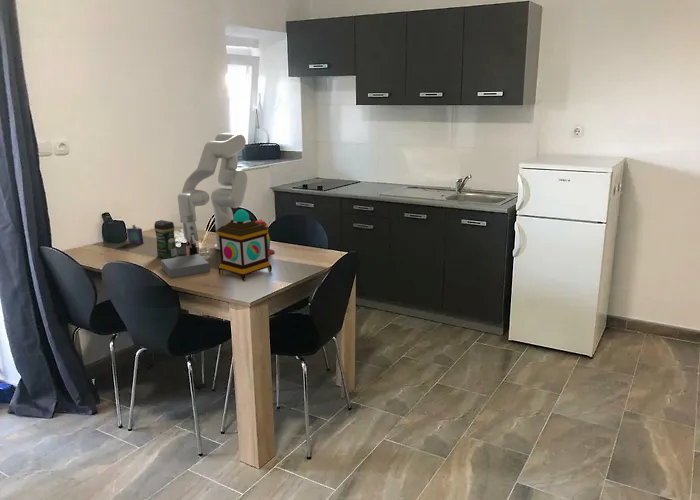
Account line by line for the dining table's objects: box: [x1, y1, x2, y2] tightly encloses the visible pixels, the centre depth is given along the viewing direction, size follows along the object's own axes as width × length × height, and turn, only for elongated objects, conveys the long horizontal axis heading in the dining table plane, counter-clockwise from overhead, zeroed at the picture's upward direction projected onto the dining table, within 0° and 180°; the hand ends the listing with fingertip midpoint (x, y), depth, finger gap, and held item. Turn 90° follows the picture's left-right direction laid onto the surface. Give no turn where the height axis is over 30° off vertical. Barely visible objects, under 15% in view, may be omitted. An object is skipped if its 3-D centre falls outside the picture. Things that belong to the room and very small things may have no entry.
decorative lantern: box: [215, 208, 273, 282], centre depth 262 cm, size 20×20×30 cm
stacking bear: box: [255, 219, 276, 258], centre depth 293 cm, size 11×10×18 cm
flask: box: [125, 224, 144, 246], centre depth 320 cm, size 9×3×11 cm, turn 76°
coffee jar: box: [153, 219, 178, 259], centre depth 293 cm, size 10×8×19 cm
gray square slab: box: [160, 253, 211, 279], centre depth 273 cm, size 18×18×4 cm
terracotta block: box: [185, 244, 200, 256], centre depth 289 cm, size 5×5×6 cm
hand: (192, 253), depth 289 cm, fingers closed on terracotta block, 4 cm apart
